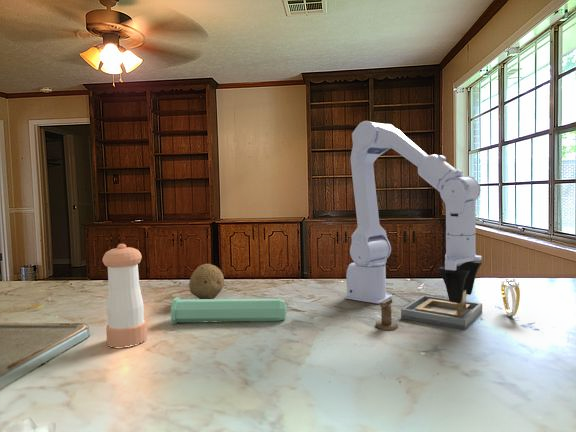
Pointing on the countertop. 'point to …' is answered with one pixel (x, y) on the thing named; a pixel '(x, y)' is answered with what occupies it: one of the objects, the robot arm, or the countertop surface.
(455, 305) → the wooden frame with post
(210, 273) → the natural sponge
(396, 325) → the brown stamp
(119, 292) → the salt shaker
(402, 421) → the countertop surface
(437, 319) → the tray
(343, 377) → the countertop surface
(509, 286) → the ring
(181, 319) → the container
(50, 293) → the countertop surface
